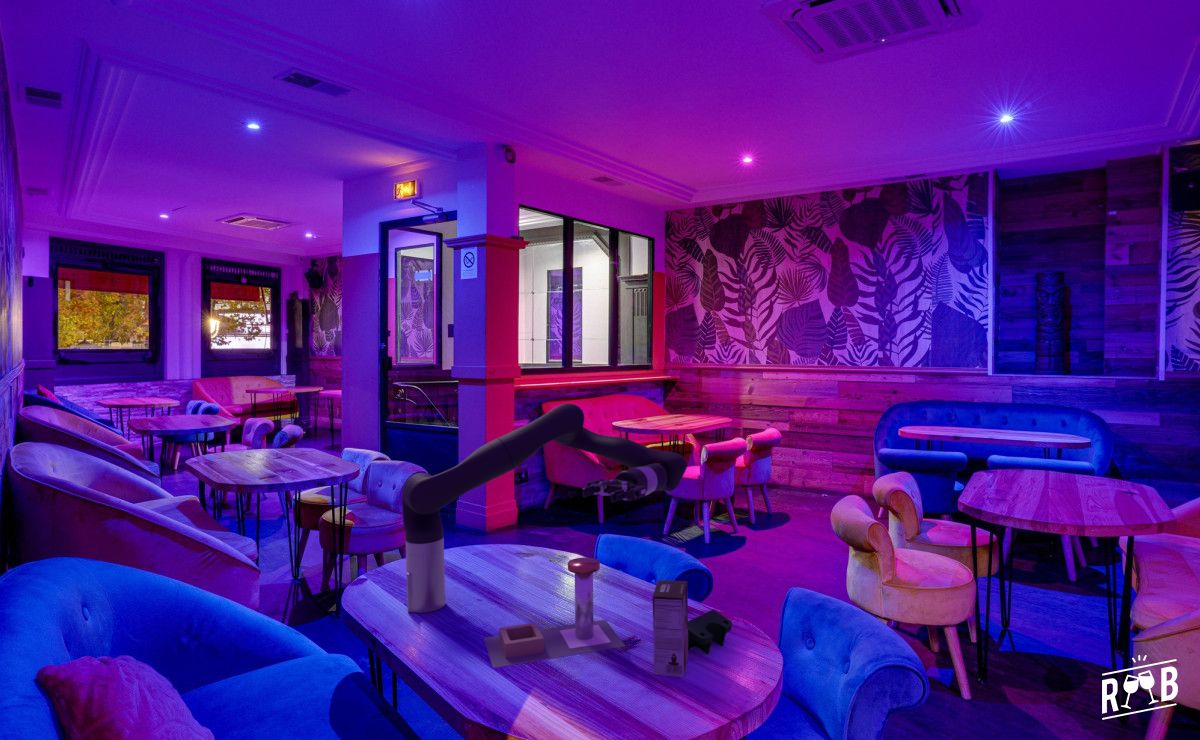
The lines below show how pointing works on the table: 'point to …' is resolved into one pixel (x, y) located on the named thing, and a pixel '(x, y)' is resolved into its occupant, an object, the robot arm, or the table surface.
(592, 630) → the mushroom shaped post
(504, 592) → the table surface
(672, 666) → the coffee box
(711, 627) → the clamp
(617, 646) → the board
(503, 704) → the table surface
